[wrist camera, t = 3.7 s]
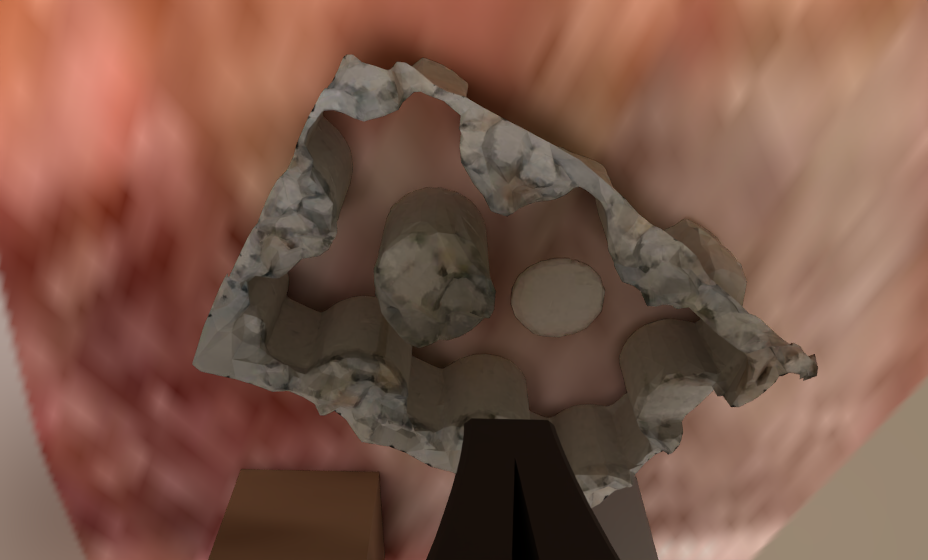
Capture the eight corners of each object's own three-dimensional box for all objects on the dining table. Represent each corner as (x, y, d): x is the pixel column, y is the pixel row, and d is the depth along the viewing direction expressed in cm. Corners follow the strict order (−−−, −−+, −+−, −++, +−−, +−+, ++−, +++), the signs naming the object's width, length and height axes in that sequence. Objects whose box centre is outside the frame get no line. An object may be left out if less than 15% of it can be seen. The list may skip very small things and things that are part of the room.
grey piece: (770, 261, 16) (856, 376, 12) (566, 444, 19) (590, 575, 16) (383, -18, 12) (355, 36, 9) (218, 264, 16) (151, 382, 12)
